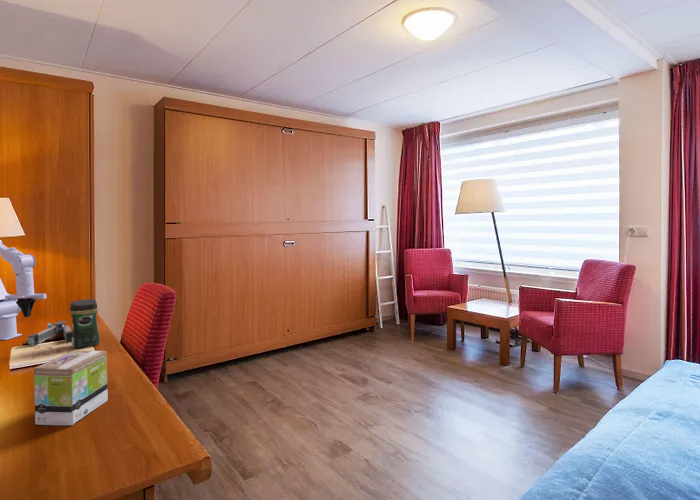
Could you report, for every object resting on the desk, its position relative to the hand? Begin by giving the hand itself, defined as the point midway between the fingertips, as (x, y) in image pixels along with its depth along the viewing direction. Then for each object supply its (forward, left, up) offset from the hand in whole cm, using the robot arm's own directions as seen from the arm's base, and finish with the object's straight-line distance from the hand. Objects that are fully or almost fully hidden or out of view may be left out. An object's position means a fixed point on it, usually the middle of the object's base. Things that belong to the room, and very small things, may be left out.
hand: (27, 316), depth 176 cm
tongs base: (+10, +7, -10) cm, 16 cm away
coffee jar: (+28, -2, -11) cm, 30 cm away
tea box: (+68, -56, -11) cm, 89 cm away
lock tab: (-1, +12, -10) cm, 15 cm away
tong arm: (+5, +4, -10) cm, 12 cm away
